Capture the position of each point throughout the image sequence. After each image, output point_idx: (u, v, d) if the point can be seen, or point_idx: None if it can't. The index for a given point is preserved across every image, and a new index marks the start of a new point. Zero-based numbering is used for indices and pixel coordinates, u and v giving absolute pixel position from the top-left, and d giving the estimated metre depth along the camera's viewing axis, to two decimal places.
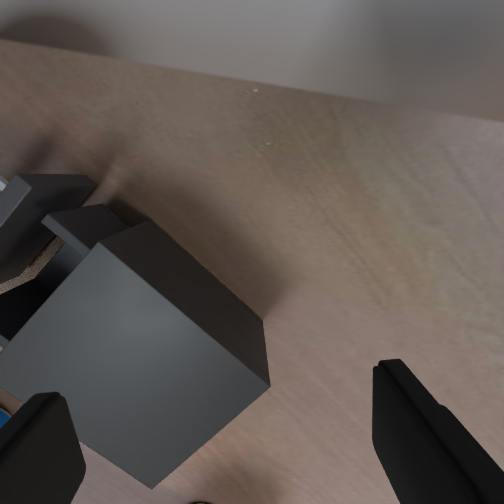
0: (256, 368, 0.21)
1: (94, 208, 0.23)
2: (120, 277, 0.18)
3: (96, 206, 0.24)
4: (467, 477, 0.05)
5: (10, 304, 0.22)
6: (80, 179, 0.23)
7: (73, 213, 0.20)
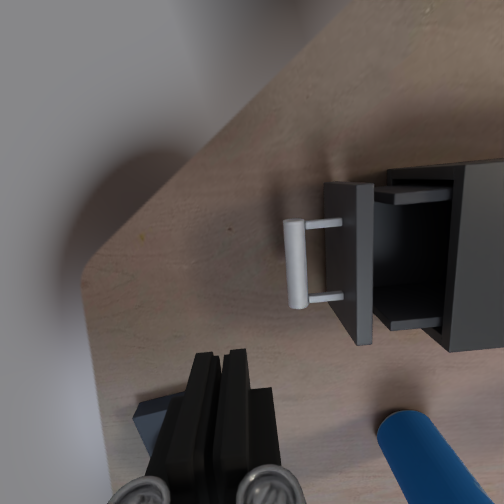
0: None
1: None
2: (503, 176, 0.18)
3: None
4: (222, 438, 0.06)
5: (388, 305, 0.24)
6: (335, 182, 0.24)
7: (384, 191, 0.21)
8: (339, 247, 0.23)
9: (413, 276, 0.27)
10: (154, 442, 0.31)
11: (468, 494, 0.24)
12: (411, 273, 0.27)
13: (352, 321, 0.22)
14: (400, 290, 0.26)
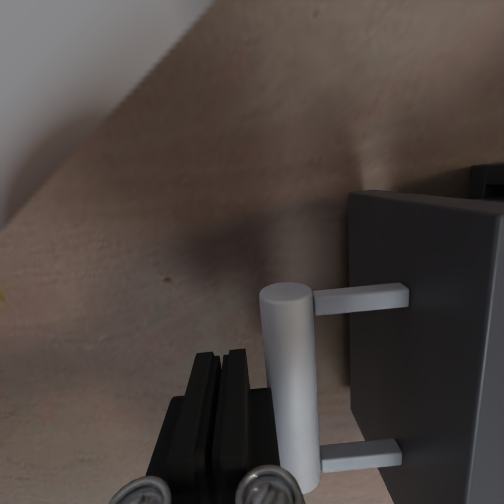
0: None
1: None
2: None
3: None
4: (221, 438, 0.06)
5: None
6: (378, 192, 0.11)
7: None
8: (393, 346, 0.10)
9: None
10: None
11: None
12: None
13: None
14: None
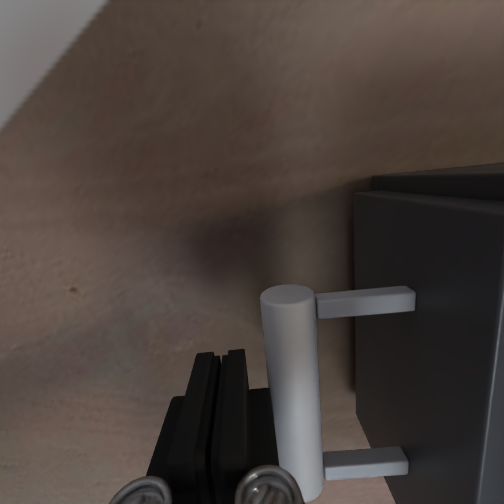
0: None
1: None
2: None
3: None
4: (220, 439, 0.06)
5: None
6: (384, 193, 0.11)
7: None
8: (399, 352, 0.10)
9: None
10: None
11: None
12: None
13: None
14: None
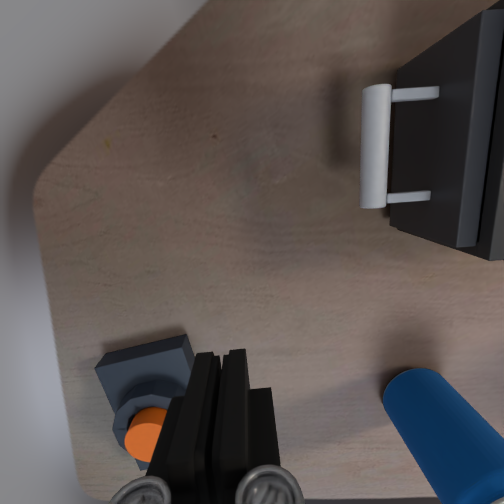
0: None
1: None
2: None
3: None
4: (221, 439, 0.06)
5: None
6: None
7: None
8: (427, 133, 0.18)
9: None
10: (121, 398, 0.26)
11: (501, 454, 0.19)
12: None
13: (450, 217, 0.17)
14: None
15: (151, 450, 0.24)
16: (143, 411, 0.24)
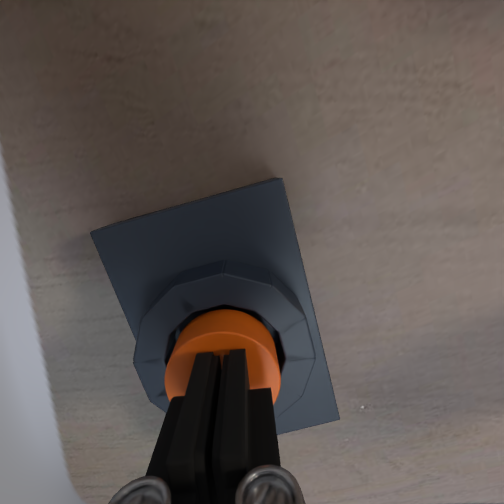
0: None
1: None
2: None
3: None
4: (221, 439, 0.06)
5: None
6: None
7: None
8: None
9: None
10: (148, 304, 0.12)
11: None
12: None
13: None
14: None
15: None
16: (203, 317, 0.11)
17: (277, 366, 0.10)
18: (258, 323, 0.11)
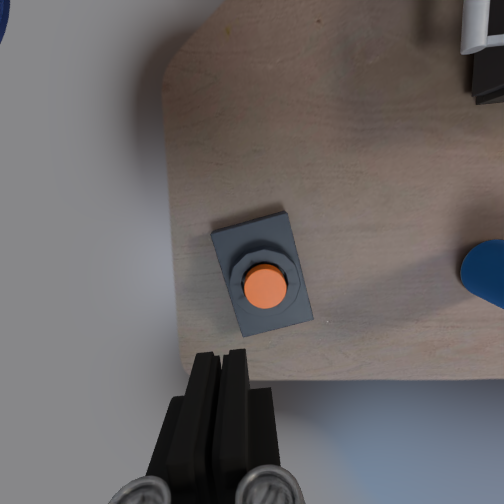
0: None
1: None
2: None
3: None
4: (221, 439, 0.06)
5: None
6: None
7: None
8: None
9: None
10: (231, 264, 0.30)
11: None
12: None
13: None
14: None
15: (266, 296, 0.27)
16: (257, 266, 0.28)
17: (285, 282, 0.27)
18: (277, 269, 0.28)
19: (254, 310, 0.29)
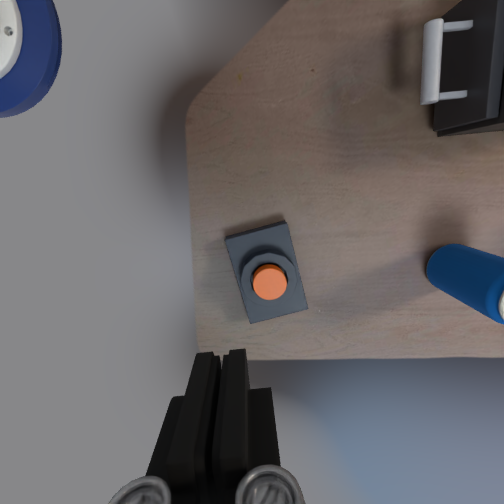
0: None
1: None
2: None
3: None
4: (221, 439, 0.06)
5: None
6: None
7: None
8: (464, 53, 0.29)
9: None
10: (241, 264, 0.37)
11: None
12: None
13: (481, 100, 0.27)
14: None
15: (271, 290, 0.34)
16: (263, 266, 0.35)
17: (285, 279, 0.34)
18: (279, 268, 0.35)
19: (260, 301, 0.36)
